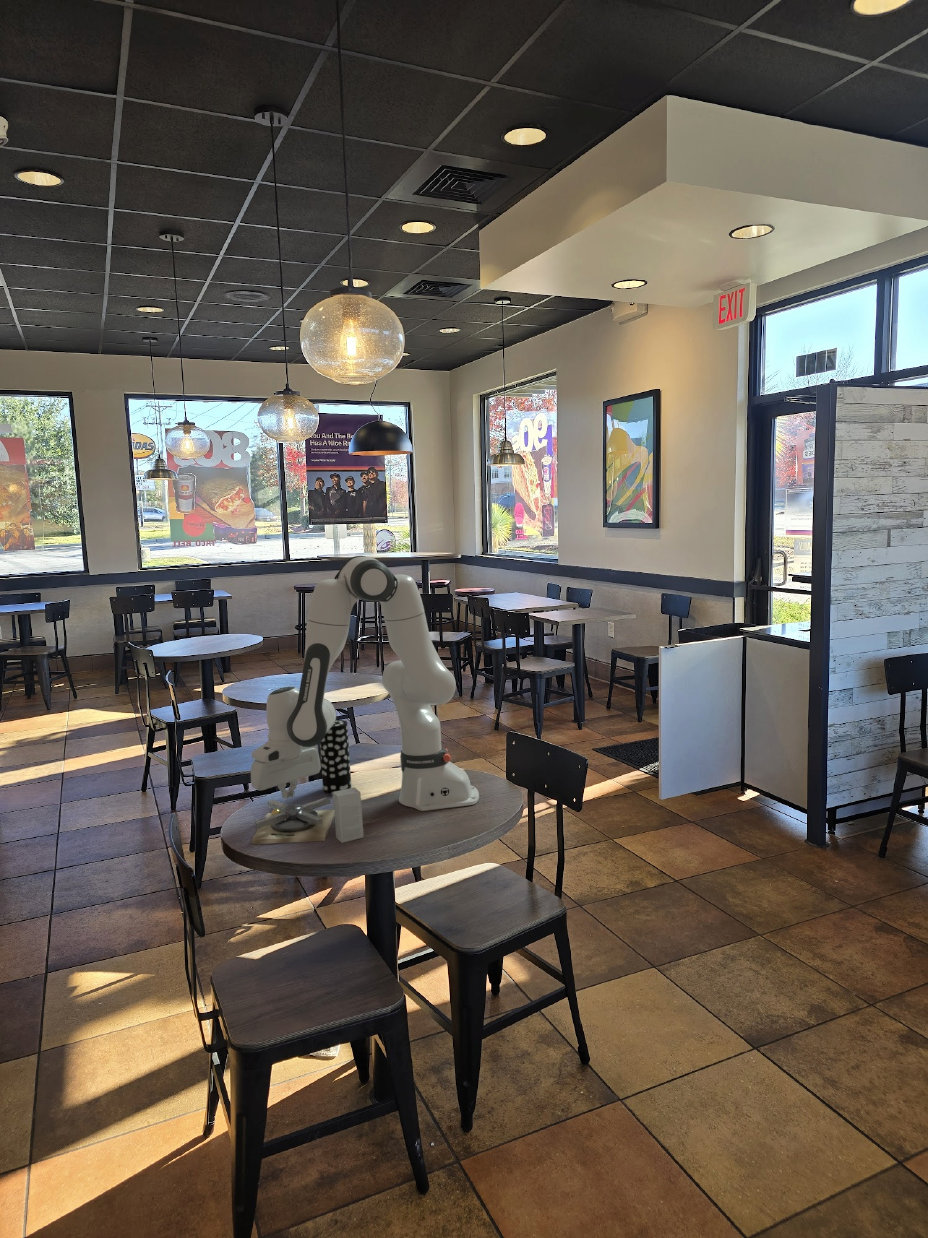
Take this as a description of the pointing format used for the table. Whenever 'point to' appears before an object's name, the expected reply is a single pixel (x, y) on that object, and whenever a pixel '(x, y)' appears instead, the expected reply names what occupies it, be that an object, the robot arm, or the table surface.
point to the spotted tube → (335, 758)
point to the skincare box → (348, 814)
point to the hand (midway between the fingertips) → (288, 797)
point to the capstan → (293, 816)
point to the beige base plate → (310, 834)
